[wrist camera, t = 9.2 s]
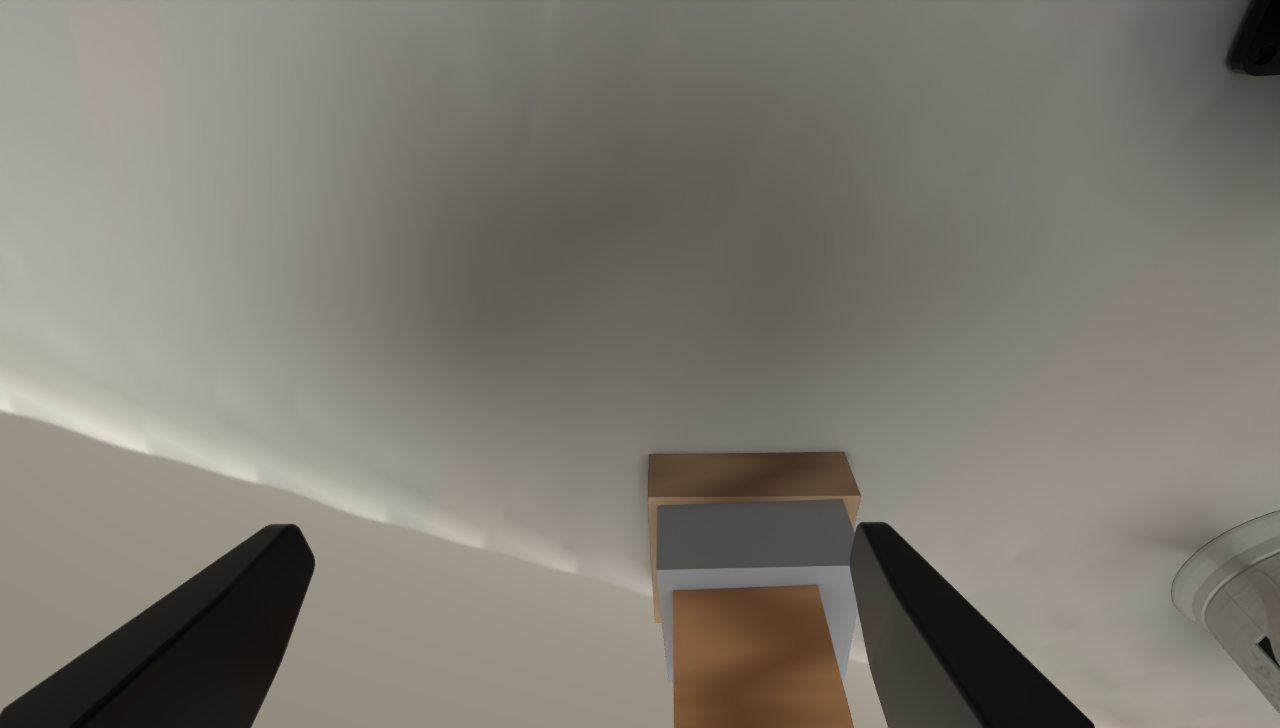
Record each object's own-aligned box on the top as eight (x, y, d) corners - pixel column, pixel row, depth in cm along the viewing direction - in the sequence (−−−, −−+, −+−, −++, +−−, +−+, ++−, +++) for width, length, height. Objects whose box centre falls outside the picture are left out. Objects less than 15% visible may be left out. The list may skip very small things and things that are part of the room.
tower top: (842, 499, 22) (865, 565, 19) (826, 612, 26) (844, 680, 23) (657, 505, 22) (656, 569, 20) (668, 615, 26) (668, 681, 24)
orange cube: (817, 584, 20) (857, 743, 16) (811, 666, 23) (844, 820, 18) (672, 590, 20) (673, 745, 16) (683, 669, 23) (686, 820, 19)
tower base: (840, 443, 24) (860, 495, 22) (818, 567, 29) (832, 623, 26) (649, 445, 25) (647, 497, 22) (655, 567, 29) (654, 622, 27)
